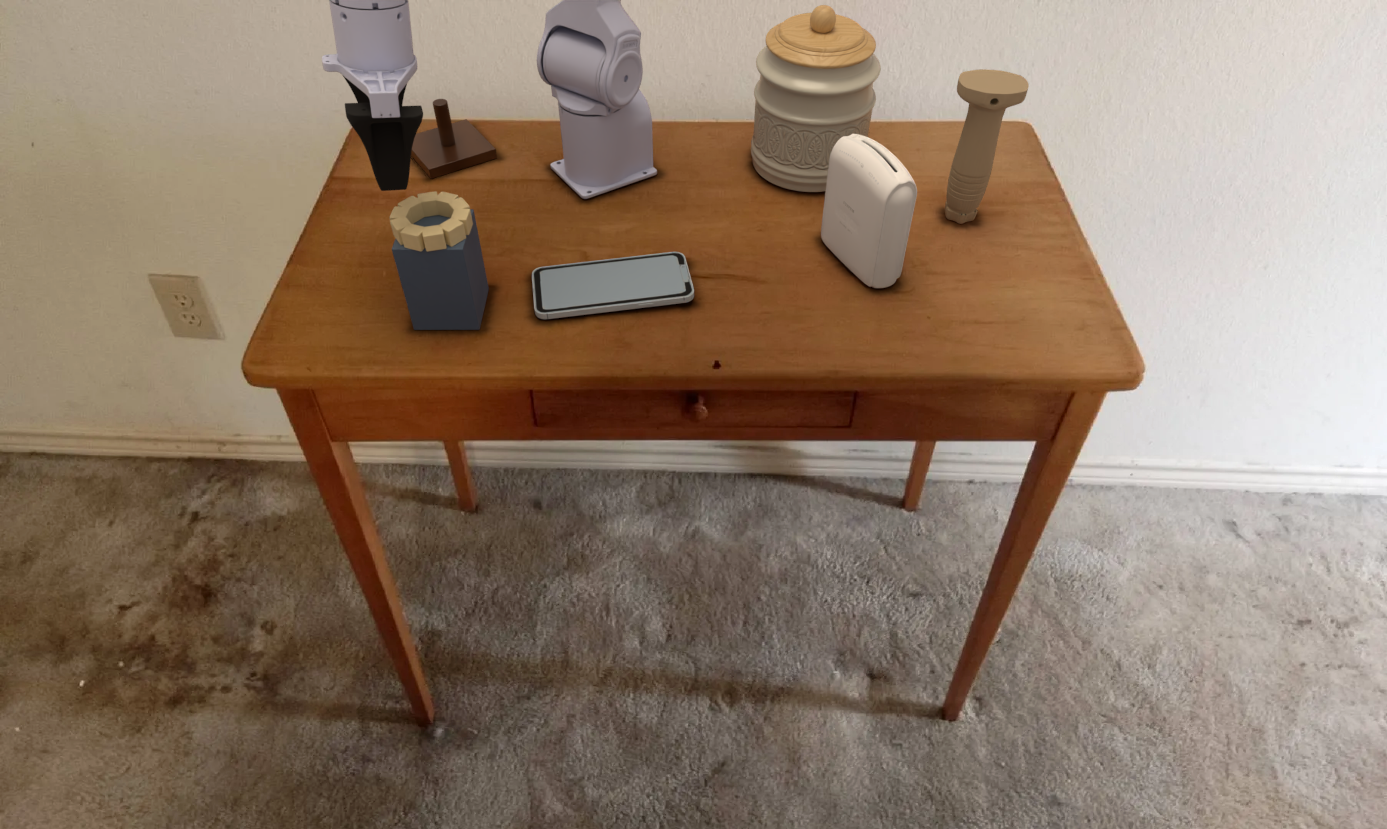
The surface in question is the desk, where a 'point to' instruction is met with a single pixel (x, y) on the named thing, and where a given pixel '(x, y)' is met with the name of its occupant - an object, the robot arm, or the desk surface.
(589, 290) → the smartphone
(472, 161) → the stand
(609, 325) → the desk surface
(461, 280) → the block
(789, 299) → the desk surface
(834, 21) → the jar
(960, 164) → the handle
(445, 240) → the bracelet
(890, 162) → the photo printer
